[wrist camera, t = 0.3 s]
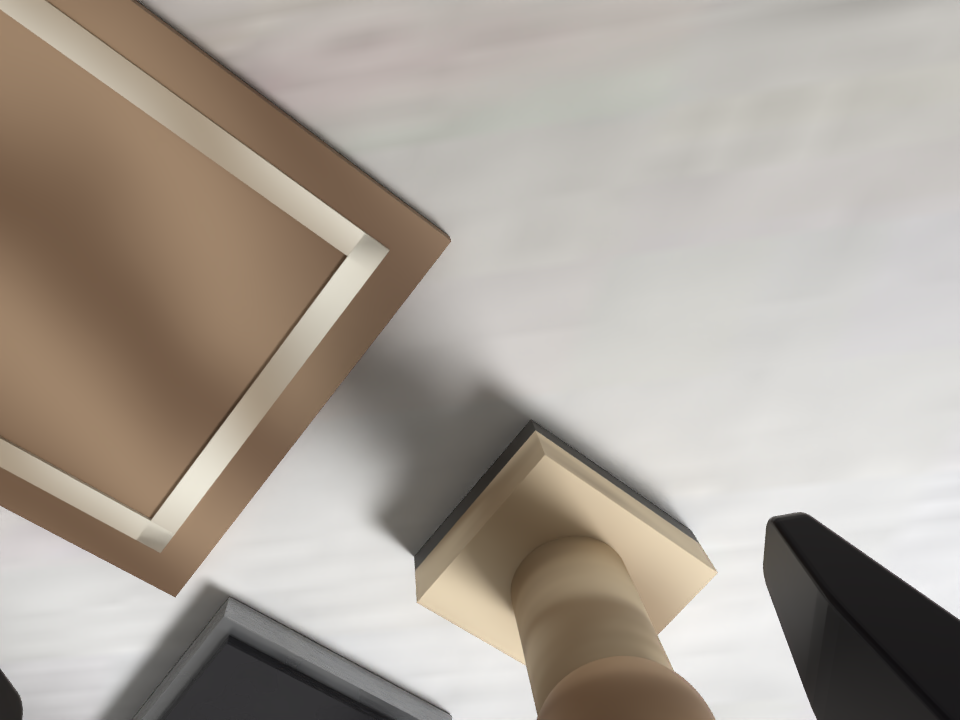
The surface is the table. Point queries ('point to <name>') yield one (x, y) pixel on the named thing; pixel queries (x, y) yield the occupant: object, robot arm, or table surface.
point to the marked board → (169, 282)
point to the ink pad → (273, 678)
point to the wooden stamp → (569, 582)
